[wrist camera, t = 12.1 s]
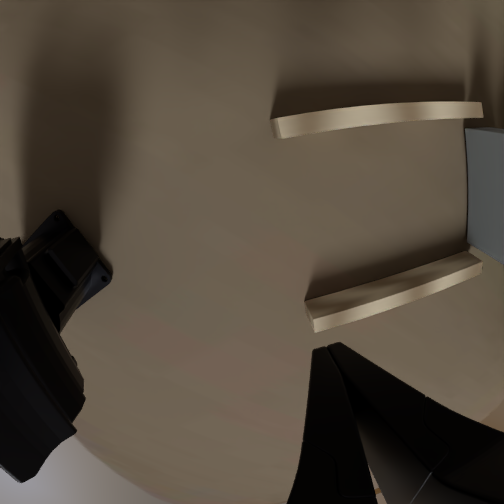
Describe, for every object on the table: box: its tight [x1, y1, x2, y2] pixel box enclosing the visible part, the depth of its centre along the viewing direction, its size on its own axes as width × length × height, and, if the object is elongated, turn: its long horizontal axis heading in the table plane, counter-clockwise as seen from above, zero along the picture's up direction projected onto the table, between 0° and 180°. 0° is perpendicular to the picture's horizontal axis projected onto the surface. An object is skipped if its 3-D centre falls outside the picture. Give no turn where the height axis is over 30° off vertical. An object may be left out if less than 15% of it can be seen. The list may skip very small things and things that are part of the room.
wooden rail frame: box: [270, 102, 483, 333], centre depth 20 cm, size 16×14×2 cm
